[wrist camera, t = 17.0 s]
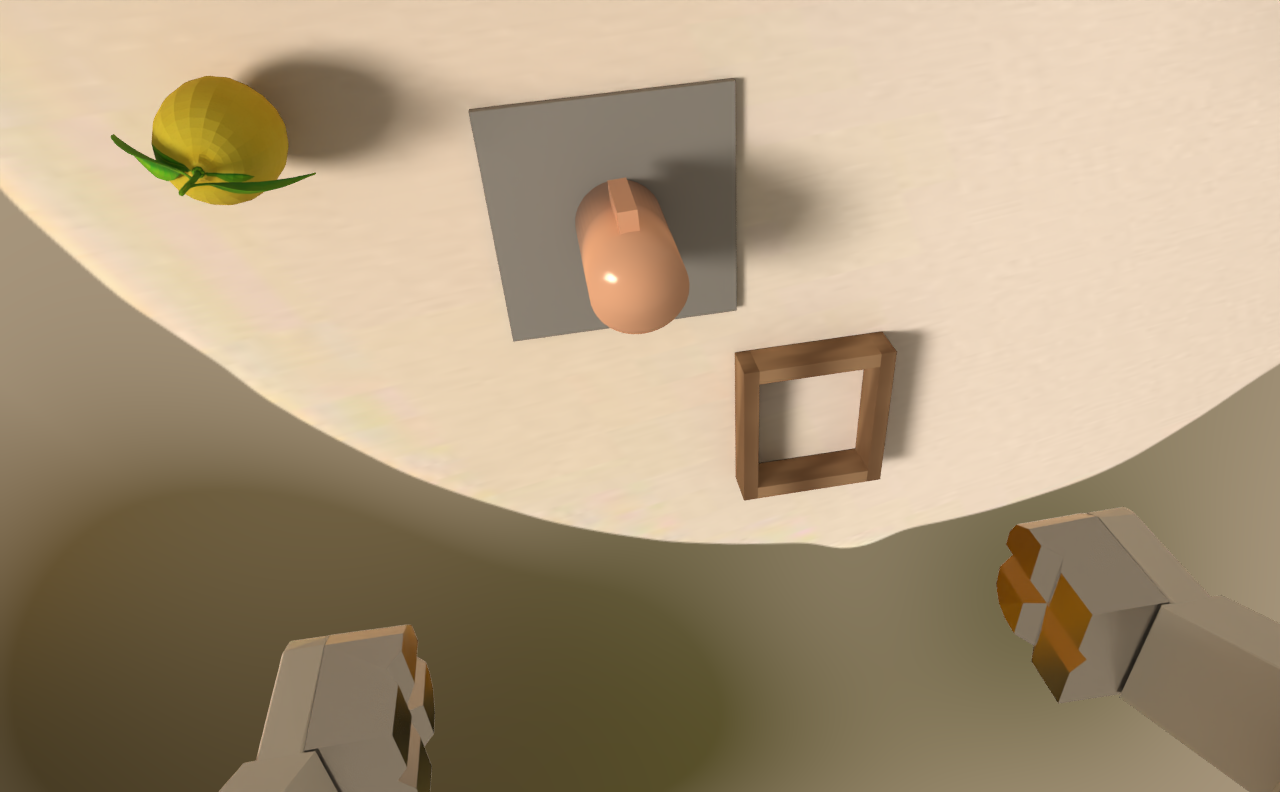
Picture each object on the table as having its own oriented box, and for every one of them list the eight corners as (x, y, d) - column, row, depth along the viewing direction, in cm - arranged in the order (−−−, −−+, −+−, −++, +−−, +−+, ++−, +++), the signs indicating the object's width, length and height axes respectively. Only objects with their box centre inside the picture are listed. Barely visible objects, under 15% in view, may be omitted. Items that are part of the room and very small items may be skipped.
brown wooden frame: (882, 331, 55) (896, 351, 53) (867, 457, 62) (879, 479, 60) (734, 352, 54) (744, 373, 52) (735, 477, 61) (744, 500, 59)
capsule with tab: (656, 153, 45) (684, 215, 39) (665, 253, 49) (692, 324, 43) (565, 168, 45) (578, 233, 39) (582, 267, 49) (596, 341, 42)
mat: (733, 78, 44) (735, 80, 44) (734, 306, 52) (736, 310, 52) (469, 109, 43) (468, 112, 43) (513, 337, 51) (513, 341, 51)
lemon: (338, 125, 42) (303, 201, 34) (266, 199, 44) (216, 288, 36) (221, 19, 39) (151, 77, 31) (148, 104, 41) (63, 180, 33)
